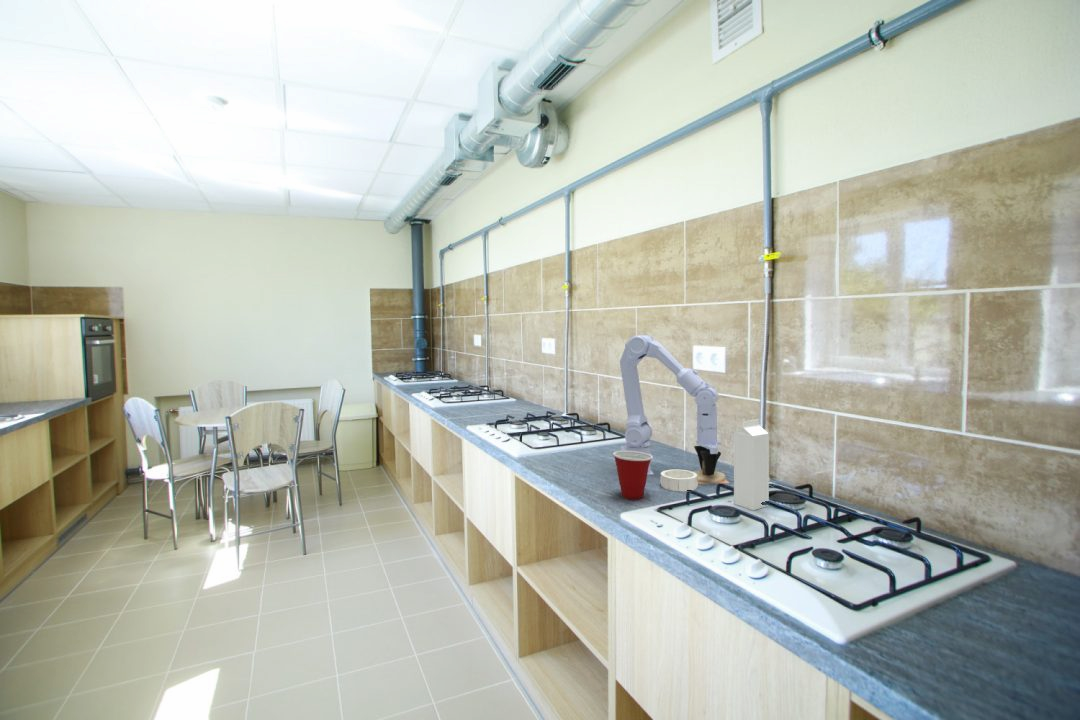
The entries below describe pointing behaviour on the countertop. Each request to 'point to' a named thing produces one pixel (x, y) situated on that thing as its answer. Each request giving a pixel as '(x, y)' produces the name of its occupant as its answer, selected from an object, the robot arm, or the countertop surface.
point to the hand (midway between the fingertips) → (707, 472)
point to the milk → (751, 465)
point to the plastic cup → (632, 472)
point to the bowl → (679, 480)
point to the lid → (709, 476)
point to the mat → (710, 483)
